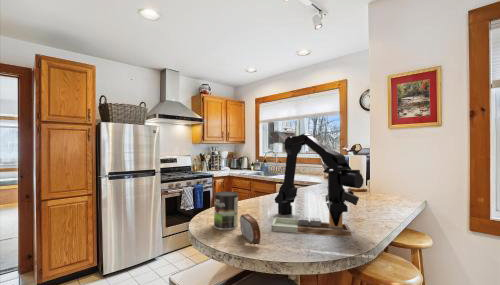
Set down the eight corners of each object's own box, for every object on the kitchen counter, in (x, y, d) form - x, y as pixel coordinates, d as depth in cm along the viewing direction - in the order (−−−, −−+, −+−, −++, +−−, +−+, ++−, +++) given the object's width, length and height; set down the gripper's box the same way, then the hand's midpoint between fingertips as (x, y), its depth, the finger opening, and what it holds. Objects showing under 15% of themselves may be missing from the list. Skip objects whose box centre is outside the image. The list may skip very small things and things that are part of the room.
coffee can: (224, 232, 94) (225, 196, 94) (209, 226, 101) (209, 193, 101) (243, 226, 101) (243, 193, 102) (227, 221, 108) (227, 190, 109)
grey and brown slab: (261, 246, 80) (261, 221, 80) (252, 248, 79) (252, 222, 79) (246, 232, 94) (246, 211, 94) (238, 233, 93) (238, 211, 93)
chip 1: (298, 229, 95) (298, 219, 95) (298, 226, 99) (298, 216, 99) (308, 230, 94) (308, 220, 95) (308, 227, 98) (308, 217, 98)
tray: (271, 232, 94) (271, 225, 94) (274, 223, 105) (274, 217, 105) (297, 234, 92) (297, 227, 92) (298, 225, 103) (298, 218, 103)
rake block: (330, 230, 92) (330, 210, 93) (328, 226, 97) (328, 207, 97) (342, 231, 91) (342, 210, 92) (340, 227, 96) (340, 207, 96)
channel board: (296, 234, 92) (296, 228, 92) (297, 225, 103) (297, 219, 103) (352, 239, 87) (352, 232, 87) (346, 229, 99) (346, 223, 99)
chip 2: (310, 230, 94) (310, 220, 94) (310, 227, 98) (310, 217, 98) (321, 231, 93) (320, 221, 94) (320, 228, 97) (320, 218, 97)
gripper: (362, 189, 84) (362, 234, 83) (352, 182, 102) (352, 218, 102) (329, 188, 86) (329, 231, 86) (325, 181, 104) (325, 216, 104)
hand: (335, 224), depth 94 cm, fingers closed on rake block, 4 cm apart
